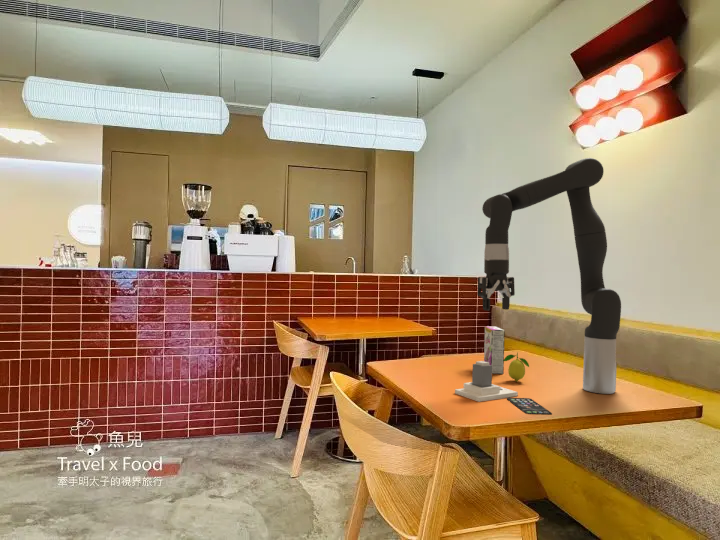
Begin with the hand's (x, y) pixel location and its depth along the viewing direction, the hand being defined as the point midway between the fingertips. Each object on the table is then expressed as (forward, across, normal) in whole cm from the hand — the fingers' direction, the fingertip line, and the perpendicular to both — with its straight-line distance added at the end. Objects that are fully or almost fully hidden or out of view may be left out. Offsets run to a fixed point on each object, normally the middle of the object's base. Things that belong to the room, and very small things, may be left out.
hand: (496, 309), depth 149 cm
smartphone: (+26, +6, +17) cm, 32 cm away
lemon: (+26, -16, -6) cm, 31 cm away
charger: (+24, +9, +3) cm, 26 cm away
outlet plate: (+25, +7, +3) cm, 26 cm away
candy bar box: (+26, -22, -21) cm, 40 cm away
